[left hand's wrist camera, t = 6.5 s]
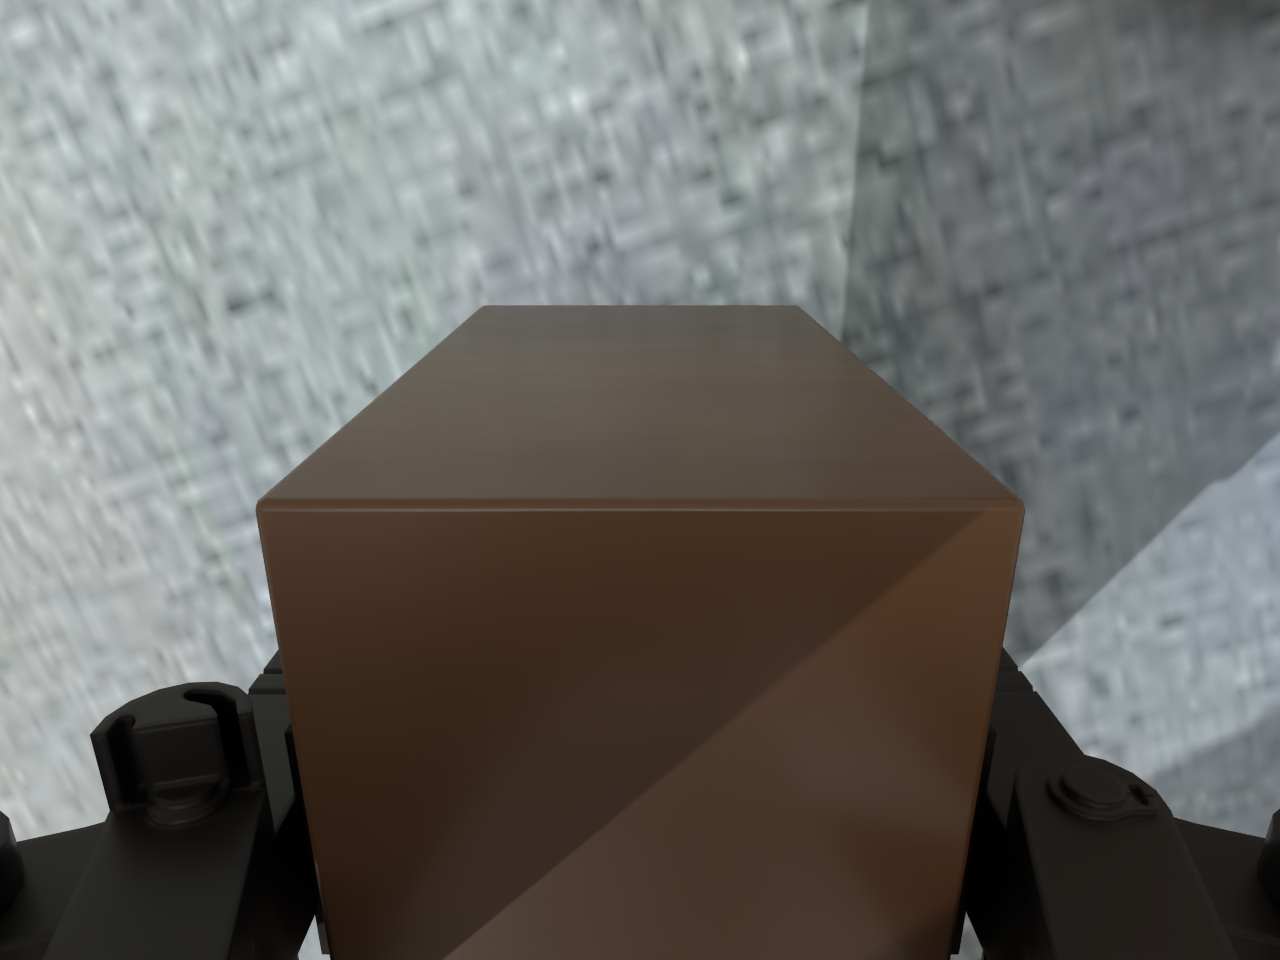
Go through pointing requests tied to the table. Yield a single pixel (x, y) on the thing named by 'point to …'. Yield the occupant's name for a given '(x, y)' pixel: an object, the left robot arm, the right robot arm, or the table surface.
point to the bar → (640, 646)
